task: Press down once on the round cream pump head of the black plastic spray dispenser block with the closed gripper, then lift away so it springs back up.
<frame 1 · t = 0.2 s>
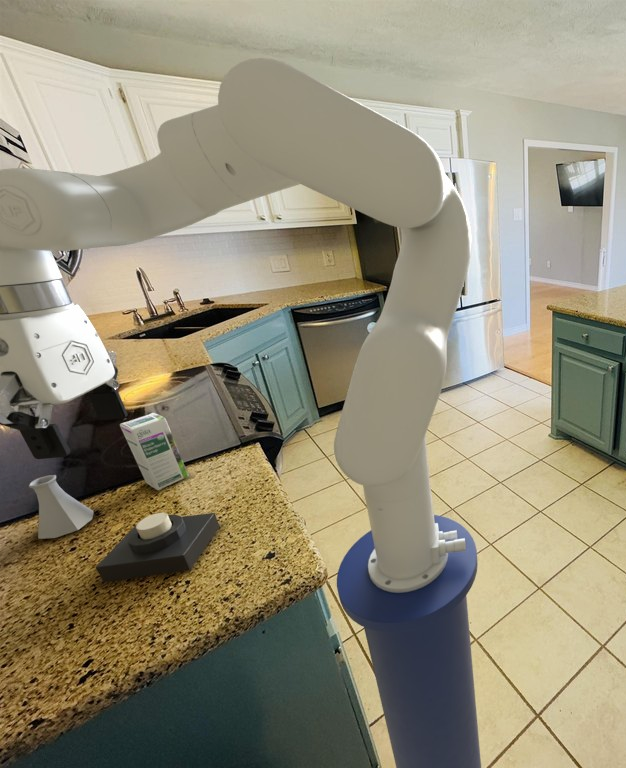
hand: (86, 435, 51), 26 cm above the countertop, tool pointing down, fingers open, 9 cm apart
pump head: (154, 526, 66), point 6 cm above the countertop, slide at 0.1 cm
syrup box: (167, 480, 87), on the countertop
dispenser: (166, 552, 68), on the countertop
flask: (68, 526, 74), on the countertop
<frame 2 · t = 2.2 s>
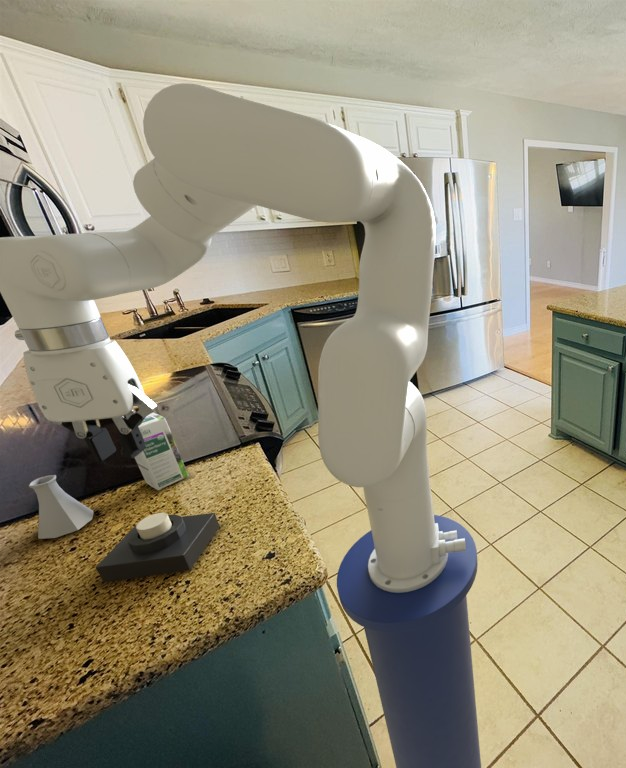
hand: (121, 454, 60), 19 cm above the countertop, tool pointing down, fingers open, 3 cm apart
nothing on the countertop moved.
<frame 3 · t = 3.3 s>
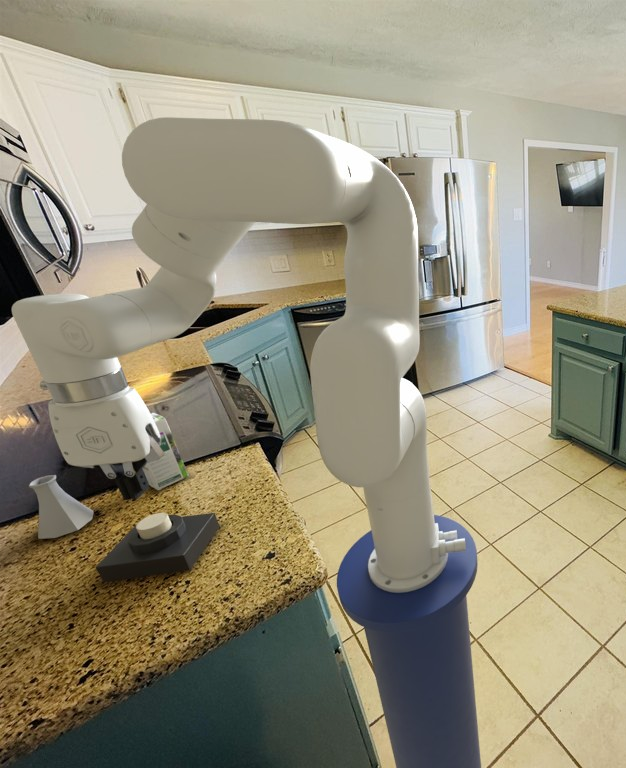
hand: (137, 493, 63), 12 cm above the countertop, tool pointing down, fingers closed
nothing on the countertop moved.
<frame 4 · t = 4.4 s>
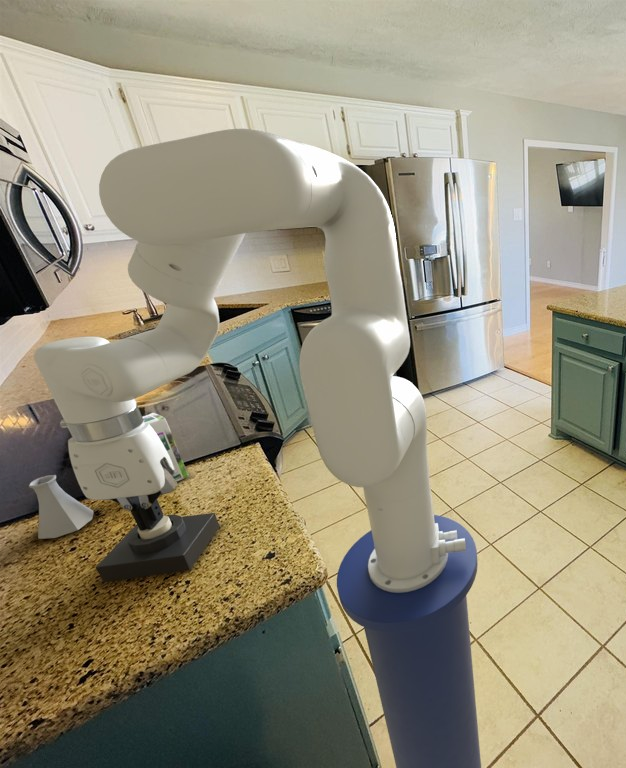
hand: (152, 523, 65), 6 cm above the countertop, tool pointing down, fingers closed
pump head: (155, 528, 66), point 5 cm above the countertop, slide at -0.5 cm, touching gripper
everything else where it was.
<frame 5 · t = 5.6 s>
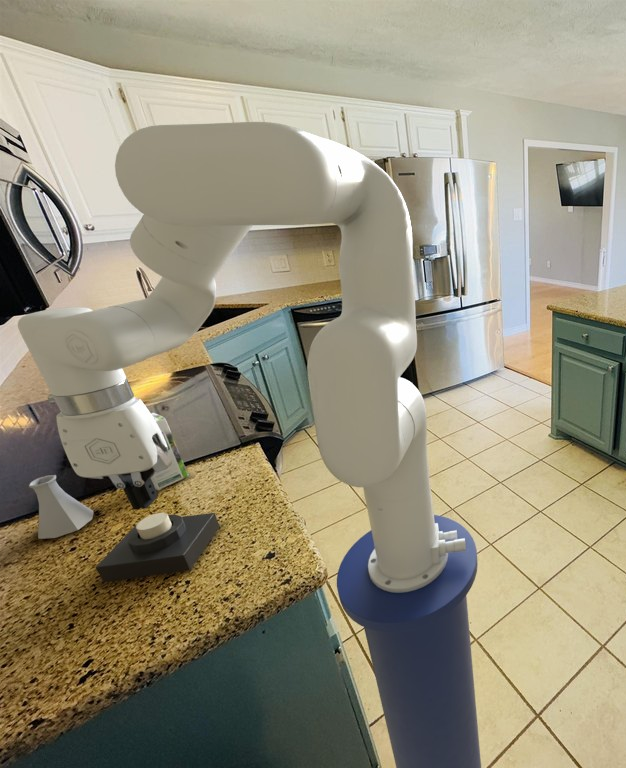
hand: (146, 503, 64), 10 cm above the countertop, tool pointing down, fingers closed
pump head: (154, 526, 66), point 6 cm above the countertop, slide at 0.1 cm
everything else where it was.
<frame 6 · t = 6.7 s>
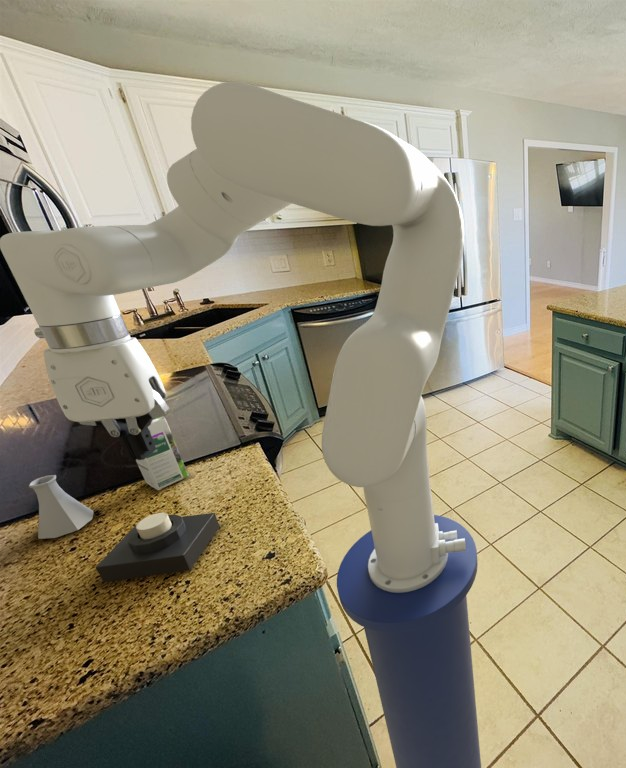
hand: (143, 455, 59), 20 cm above the countertop, tool pointing down, fingers closed
nothing on the countertop moved.
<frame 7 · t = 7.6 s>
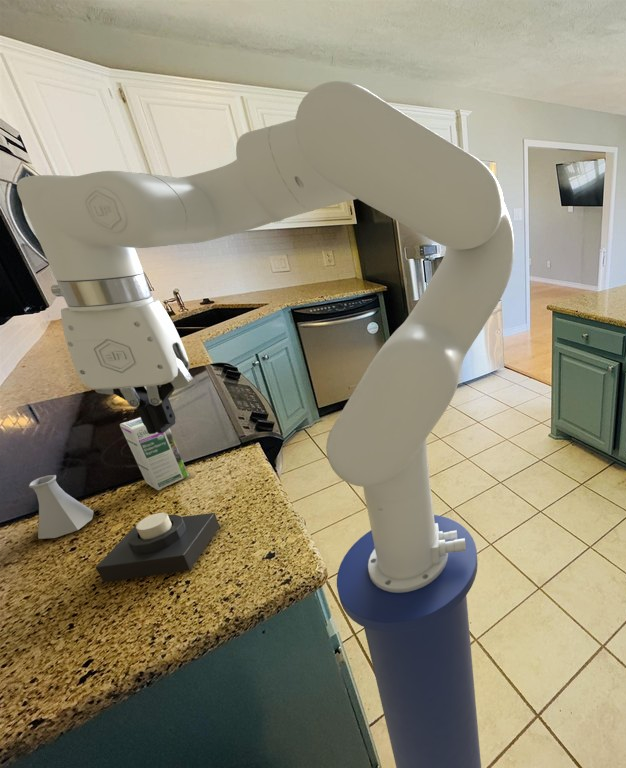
hand: (162, 428, 55), 25 cm above the countertop, tool pointing down, fingers closed
nothing on the countertop moved.
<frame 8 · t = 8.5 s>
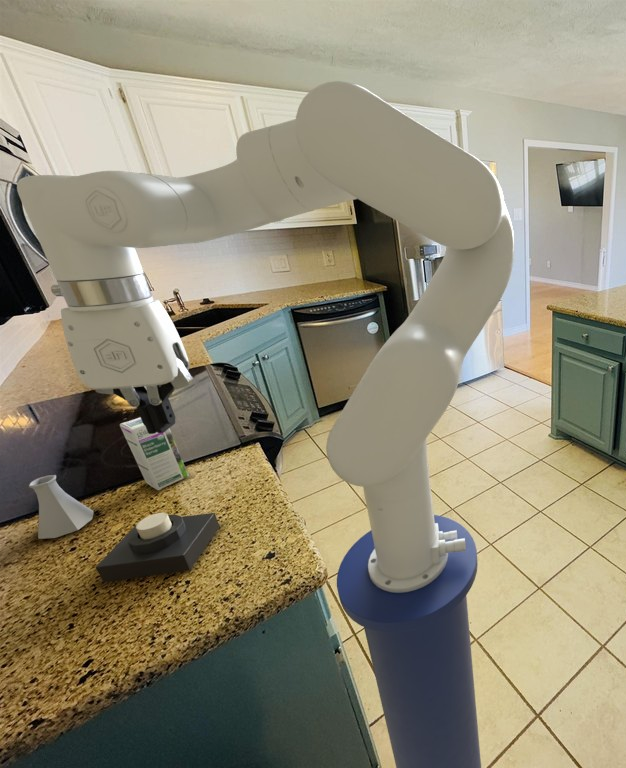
hand: (162, 428, 55), 25 cm above the countertop, tool pointing down, fingers closed
nothing on the countertop moved.
at the end: pump head pushed in 1.1 cm at the most during the clip, back to where it started at the end; pump head slide at 0.1 cm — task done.
